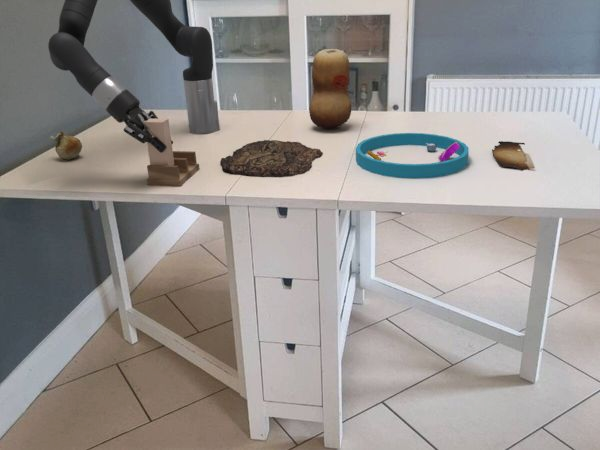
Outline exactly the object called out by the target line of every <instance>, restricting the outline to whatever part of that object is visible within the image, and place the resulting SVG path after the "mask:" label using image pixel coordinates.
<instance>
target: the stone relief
mask: <svg viewBox="0 0 600 450" xmlns="http://www.w3.org/2000/svg"><path fill="white" fill-rule="evenodd" d="M323 155H324V153H323V151H322V150H321V149H320V148H313V147H309V146H306V145H305V144H303V143H301V142H299V141H291V140H290V141H289V140H287V141H281V140H277V139H276V140H275V139H274V140H272V139H271V140H270V139H266V140H265V139H264V140H258V141H257V140H256V141H253V142H249V143H246V144H245V145H243V146H242V147H240V148H238V149H235V151H232V155H228V156H226V157H221V158H220V161H219V162H220V165H219V166H221V170H222V172H223V173H225V174H228V175H235V176H243V177H253V178H286V177H294V176H298V175H303V174H305V173H307V172H309V171H310V170H311V169H312V167H313V165H312V164H313V162H314V161H315V160H317V159H321V158H322V157H323Z"/></svg>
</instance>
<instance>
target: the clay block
mask: <svg viewBox="0 0 600 450" xmlns="http://www.w3.org/2000/svg"><path fill="white" fill-rule="evenodd" d="M144 123H145V124H146V125H147V126H149V128H150V131H151V132H152V133H153V134H154V135H155V137H157V138H158V139H159V140H160V141H162V142H163V143H164V144H165V145H166V146H167V148H166V149H165V150H164V151H163V152H162V153H160V152H159V151H158V150H157V149H156V148H155V147H154V146H153V145H152V144H151V143H147V142H146V145H147V151H148V161H149V165H168V166H173V165H174V158H173V151H174V150H173V144H172V143H171V140H172V135H171V127H170V120H169V118H158V119H148V120H147V121H145V122H144Z"/></svg>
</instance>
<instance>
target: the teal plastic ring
mask: <svg viewBox="0 0 600 450" xmlns="http://www.w3.org/2000/svg"><path fill="white" fill-rule="evenodd" d="M395 146H420V147H421V146H422V147H426V149H427V151H428V152H430V153H435V151H436V150H437V149H443V150H444V151H442V152H440V154H439V155H438V156H437V159H438V160H439V161H436V162H431V163H400V162H397V163H396V162H390V161H385V160H384V159H382V158H383V157H386V156H387V153H389V151H377V152H376V154H375V153H373V150H374V151H375V150H378V149H382V148H387V147H395ZM469 149H470V148H469V146H468V145H467V144H466V143H464V142H462V141H460V140H458V139H456V138H452V137H450V136H446V135H439V134H435V133H434V134H432V133H422V132H400V133H399V132H398V133H390V134H389V133H388V134H381V135H376V136H372V137H370V138H366V139H364V140H362V141H360V142H359V143H357V145H356V147H355V162H356V164H357V166H358V167H360V168H361V169H362V170H365V171H367V172H369V173H372V174H376V175H380V176H384V177H392V178H397V179H430V178H431V179H432V178H438V177H445V176H448V175H452V174H455V173H458V172H460V171H462V170H464V169H465V167H467V165H468V164H469V163H468V162H469V154H470V153H469V152H470V151H469ZM366 154H367V155H368V156H367V155H366ZM454 154H456V155H457V157H454V158H451V157H452V156H453V155H454ZM379 156H380V157H382V158H380V157H379ZM449 158H451V159H449Z"/></svg>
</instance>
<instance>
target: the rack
mask: <svg viewBox="0 0 600 450" xmlns="http://www.w3.org/2000/svg"><path fill="white" fill-rule="evenodd" d="M196 154H197V153H196V151H190V150H189V151H185V150H183V151H182V150H173V158H174V165H173V166H168V165H150V164H148V165H146V170H147V176H148V178H146V183H147V186H162V187H163V186H165V187H167V186H168V187H182V186H183V185H184V184H185V183H186V182H187V181H188V180H189V179H190V178H191V177H193V175H194V174H195V173H197V172H198V171H199V170H200V164H199V163H197V155H196Z"/></svg>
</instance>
